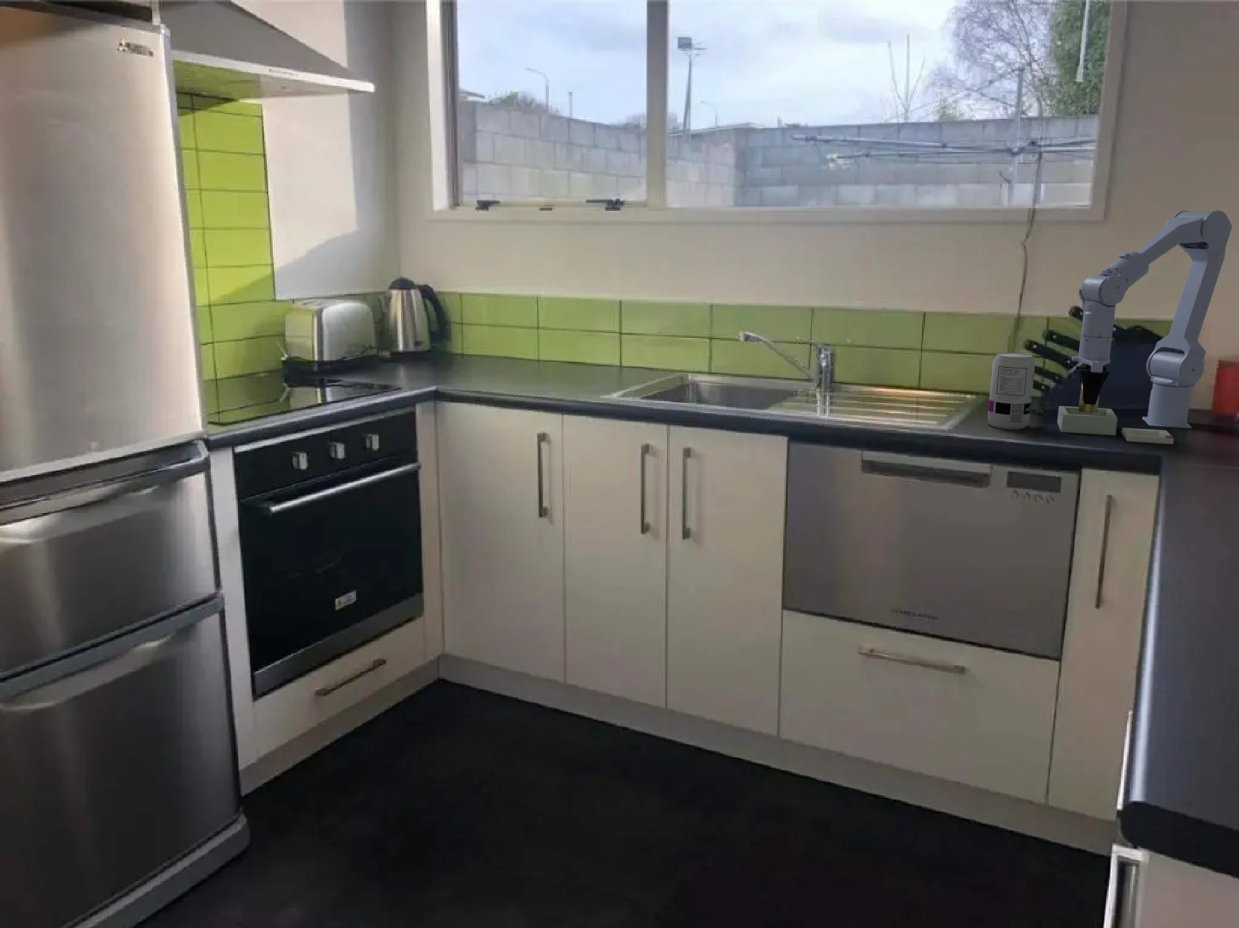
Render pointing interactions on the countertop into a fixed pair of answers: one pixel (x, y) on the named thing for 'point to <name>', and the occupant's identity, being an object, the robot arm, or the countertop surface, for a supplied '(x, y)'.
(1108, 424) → the grey-green square tray
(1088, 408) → the cell
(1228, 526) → the countertop surface
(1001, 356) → the supplement can
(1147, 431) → the white square recessed tray
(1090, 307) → the robot arm
